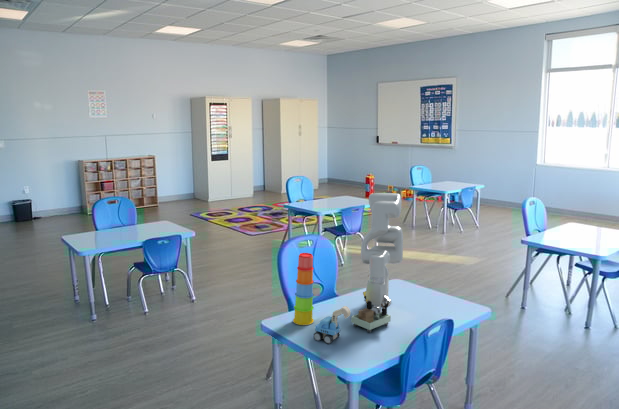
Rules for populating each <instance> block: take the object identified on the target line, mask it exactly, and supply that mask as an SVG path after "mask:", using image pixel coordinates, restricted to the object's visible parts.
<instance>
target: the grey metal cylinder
mask: <svg viewBox="0 0 619 409" xmlns="http://www.w3.org/2000/svg"><path fill="white" fill-rule="evenodd" d="M372 311H374V316H373V320H379V319H381V312H382V306H379V305H372Z"/></svg>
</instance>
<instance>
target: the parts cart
mask: <svg viewBox="0 0 619 409" xmlns="http://www.w3.org/2000/svg"><path fill="white" fill-rule="evenodd" d="M371 310H372V309H371ZM381 314H382V311H381ZM350 316H351V315H350ZM391 317H392V316H391V314H388V313H387V315H385V316H382V315H381V319H379V320H373V322H371V323H368V322H366V321H363V320H361V319H359V313H356V314H354V315H352V316H351V318H350V323H352V324H353V327H356V328H357V327H358V326H359V327H362V328H364V329H366V332H368V333H370V334H371V333H372V332H373V331H372V330H373V329H375V328H376V329H377V328H378V327H381V326H388V325H389V323H391V319H392V318H391Z"/></svg>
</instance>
